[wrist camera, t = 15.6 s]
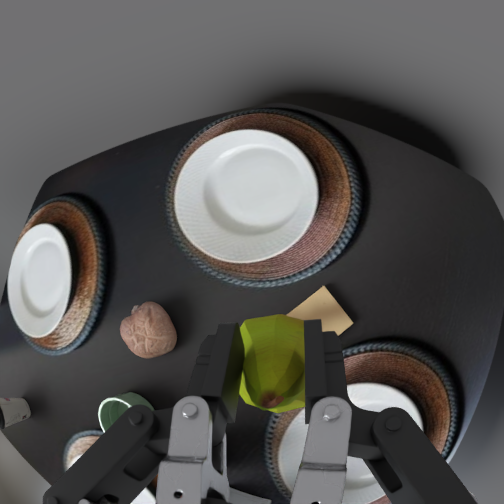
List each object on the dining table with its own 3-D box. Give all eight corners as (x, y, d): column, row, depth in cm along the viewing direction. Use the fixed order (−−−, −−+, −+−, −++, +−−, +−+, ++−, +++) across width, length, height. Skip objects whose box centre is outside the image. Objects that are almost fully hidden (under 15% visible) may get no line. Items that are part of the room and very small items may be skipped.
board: (352, 323, 34) (353, 323, 33) (301, 362, 34) (301, 363, 33) (323, 286, 36) (324, 285, 35) (273, 325, 36) (272, 325, 35)
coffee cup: (37, 420, 39) (3, 428, 29) (24, 424, 39) (-7, 431, 29) (25, 390, 40) (-10, 394, 31) (13, 395, 41) (-19, 399, 31)
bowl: (170, 428, 35) (156, 438, 30) (135, 446, 35) (120, 455, 30) (138, 382, 37) (121, 388, 33) (107, 404, 37) (89, 410, 33)
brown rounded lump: (119, 321, 39) (134, 369, 35) (107, 302, 35) (122, 355, 31) (164, 306, 42) (183, 352, 38) (159, 284, 38) (179, 336, 33)
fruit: (223, 364, 20) (128, 410, 8) (272, 295, 20) (225, 265, 9) (295, 414, 18) (276, 515, 6) (347, 345, 18) (400, 382, 7)
